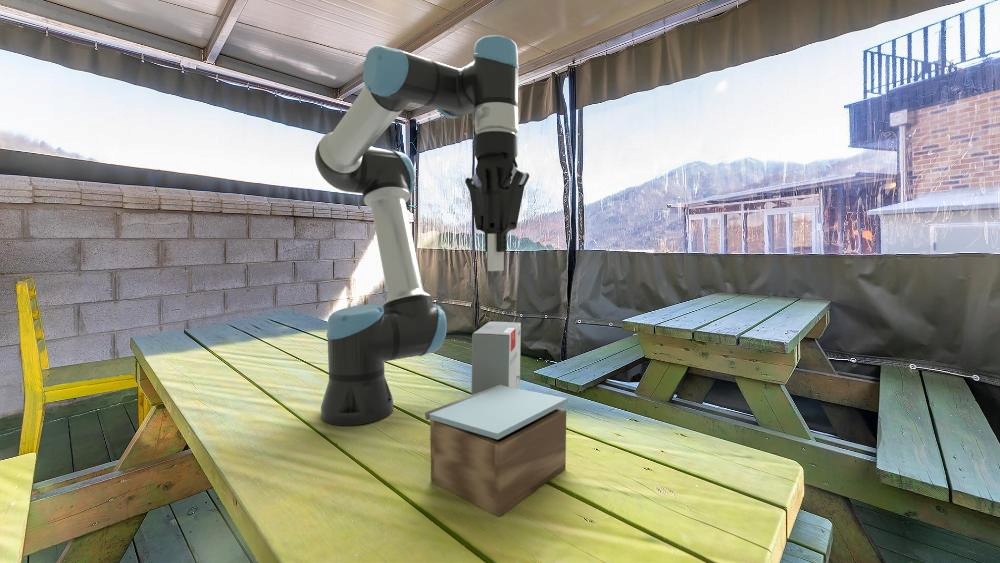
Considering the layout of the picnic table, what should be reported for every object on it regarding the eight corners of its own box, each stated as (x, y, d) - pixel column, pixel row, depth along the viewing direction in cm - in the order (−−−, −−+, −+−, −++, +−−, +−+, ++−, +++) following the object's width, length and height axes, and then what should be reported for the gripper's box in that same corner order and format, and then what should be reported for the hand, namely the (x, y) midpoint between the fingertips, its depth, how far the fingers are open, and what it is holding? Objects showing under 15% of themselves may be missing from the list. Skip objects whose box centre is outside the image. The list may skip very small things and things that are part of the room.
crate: (430, 481, 68) (430, 419, 67) (500, 443, 81) (500, 391, 80) (499, 517, 59) (499, 446, 58) (565, 468, 72) (566, 409, 71)
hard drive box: (508, 436, 84) (508, 335, 83) (470, 433, 86) (470, 333, 84) (520, 407, 99) (521, 321, 98) (488, 405, 101) (488, 320, 99)
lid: (424, 419, 67) (424, 411, 67) (498, 390, 81) (498, 383, 81) (497, 441, 58) (497, 432, 58) (567, 404, 71) (567, 397, 71)
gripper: (454, 136, 77) (454, 270, 79) (512, 123, 68) (511, 273, 70) (482, 144, 82) (482, 268, 84) (539, 132, 74) (538, 271, 76)
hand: (495, 270), depth 77 cm, fingers closed
